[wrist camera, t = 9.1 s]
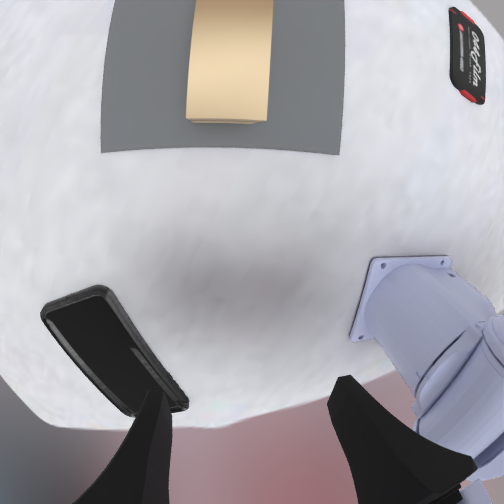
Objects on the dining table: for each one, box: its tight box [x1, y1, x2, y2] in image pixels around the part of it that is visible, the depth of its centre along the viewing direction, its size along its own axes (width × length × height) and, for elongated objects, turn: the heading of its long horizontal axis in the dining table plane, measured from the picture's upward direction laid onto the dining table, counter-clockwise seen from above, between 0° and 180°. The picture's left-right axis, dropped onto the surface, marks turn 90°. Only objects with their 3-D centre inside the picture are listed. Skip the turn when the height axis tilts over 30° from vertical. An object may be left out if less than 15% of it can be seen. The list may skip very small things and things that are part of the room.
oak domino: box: [186, 0, 273, 124], centre depth 10 cm, size 10×3×5 cm, turn 177°
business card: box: [449, 7, 486, 105], centre depth 13 cm, size 10×1×5 cm
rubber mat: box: [101, 0, 345, 155], centre depth 12 cm, size 14×12×1 cm
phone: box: [40, 285, 189, 417], centre depth 20 cm, size 8×1×15 cm
